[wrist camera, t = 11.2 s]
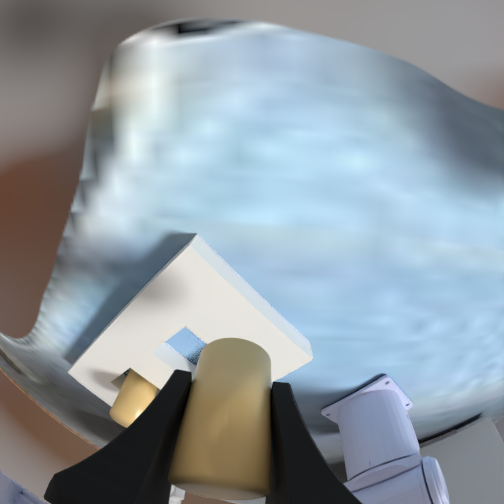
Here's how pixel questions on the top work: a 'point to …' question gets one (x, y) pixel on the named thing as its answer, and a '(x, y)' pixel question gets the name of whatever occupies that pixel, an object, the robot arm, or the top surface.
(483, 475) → the light grey angular block
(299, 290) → the top surface
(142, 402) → the peg
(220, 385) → the peg
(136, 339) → the housing
